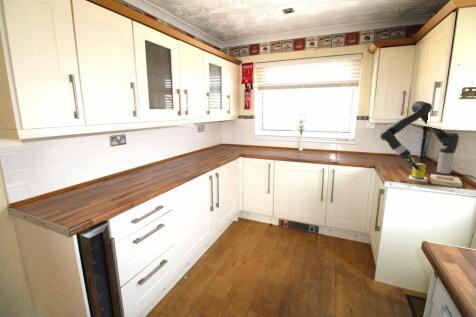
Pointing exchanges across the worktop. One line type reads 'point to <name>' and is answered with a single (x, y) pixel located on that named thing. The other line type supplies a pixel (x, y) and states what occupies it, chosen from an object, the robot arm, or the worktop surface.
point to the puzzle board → (446, 180)
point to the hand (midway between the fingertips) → (418, 168)
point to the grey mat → (418, 179)
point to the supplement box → (419, 171)
